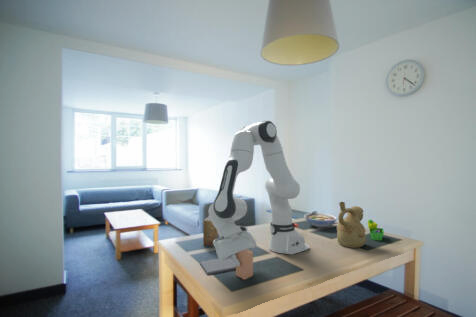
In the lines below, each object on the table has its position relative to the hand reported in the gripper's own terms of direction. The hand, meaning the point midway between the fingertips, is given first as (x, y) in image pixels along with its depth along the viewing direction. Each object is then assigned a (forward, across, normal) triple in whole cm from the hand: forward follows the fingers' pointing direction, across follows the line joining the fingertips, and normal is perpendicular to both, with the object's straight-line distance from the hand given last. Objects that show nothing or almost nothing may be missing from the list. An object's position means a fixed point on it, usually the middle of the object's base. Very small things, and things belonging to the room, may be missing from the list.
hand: (245, 263), depth 104 cm
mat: (-7, -1, +14) cm, 16 cm away
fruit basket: (+19, +94, -11) cm, 97 cm away
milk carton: (-25, +17, +33) cm, 45 cm away
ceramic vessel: (+14, +71, -6) cm, 73 cm away
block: (+3, 0, +4) cm, 5 cm away
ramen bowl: (-7, +94, +15) cm, 95 cm away
